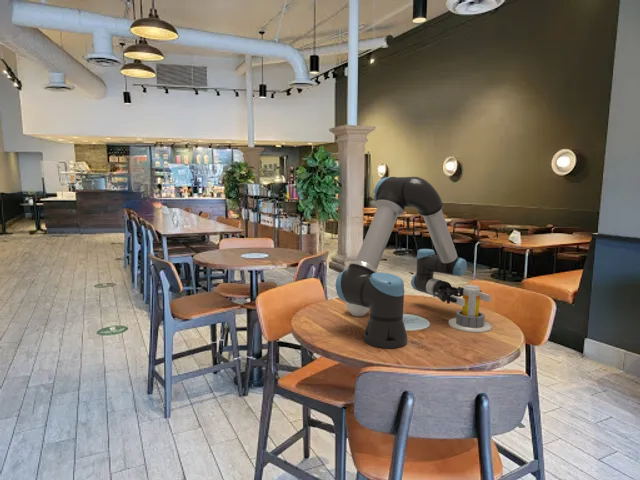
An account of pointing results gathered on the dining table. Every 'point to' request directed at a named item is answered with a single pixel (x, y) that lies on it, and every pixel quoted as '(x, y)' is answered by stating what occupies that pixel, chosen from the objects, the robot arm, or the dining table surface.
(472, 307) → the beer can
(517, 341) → the dining table surface
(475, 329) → the collar stand
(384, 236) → the robot arm
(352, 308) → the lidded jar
